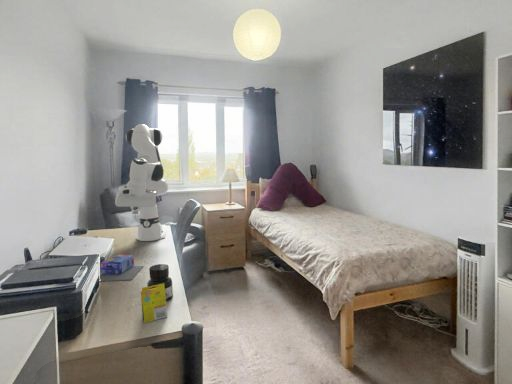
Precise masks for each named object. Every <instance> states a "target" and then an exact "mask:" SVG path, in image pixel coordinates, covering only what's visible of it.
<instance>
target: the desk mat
mask: <svg viewBox="0 0 512 384" xmlns="http://www.w3.org/2000/svg"><path fill="white" fill-rule="evenodd" d="M143 268H144V265H134V266H132V267H131V268H129V269H127V270H126V271H124V272H123V273H121V274H119V275H118V274H103V275H102V277H101V282H100V283H102V282H124V281H125V282H126V281H132V280H133V279H134V278H135V276H137V275H138V274H139V272H141V271H142V269H143Z"/></svg>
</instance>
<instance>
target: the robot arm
mask: <svg viewBox="0 0 512 384" xmlns="http://www.w3.org/2000/svg"><path fill="white" fill-rule="evenodd" d="M125 140H126V142H127V144H128V145H130V146H131V147H132V148H133V150H134V151H135V152H137V157H135V158H133V159H131V162H130V163H129V164H127V176H128V178H129V181H128V182H127V183H126V184H125V185H120V186H119V187H118V192H116V195H115V200H114V201H115V202H114V204H115V206H116V207H117V208H118V207H121V208H122V207H123V208H124V207H127V208H128V207H130V210H131V214H132V215H139V225H138V226H137V236H136V237H135V240H137V241H141V242H152V241H157V240H161V239H166V236H167V235H166V234H167V231H163V225H162V223H160V216H159V212H158V205H157V197H160V196H163V195H166V193H167V192H168V190H169V184H168V183H167V180H165V179H164V178H163V177H164V175H165V171H164V168H163V167H164V166H163V164H162V161H161V160H162V159H161V157H160V151H159V149H158V146H159V145H161V144H162V141H163V134H162V131H161V130H160V129H159V128H155V127H154V128H151V127H148V125H146V124H142V123H139V124H137V125H135V127H134V128H129V129H128V130H127V131H126V133H125ZM134 208H137V209H134Z"/></svg>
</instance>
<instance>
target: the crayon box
mask: <svg viewBox="0 0 512 384" xmlns="http://www.w3.org/2000/svg"><path fill="white" fill-rule="evenodd" d="M152 287H156V288H152ZM149 288H152V289H149ZM140 297H141V298H140V300H141V310H142V311H141V312H142V320H143V323H144V324H147V323H150V322H153V321H156V320H160V319H164V318H167V317H168V312H167V311H168V310H167V309H168V307H167V301H166V296H165V286H164V283H162V284H158V285H153V286H149V287H147V286H146V287H142V288H141V291H140Z"/></svg>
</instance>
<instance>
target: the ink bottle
mask: <svg viewBox="0 0 512 384" xmlns="http://www.w3.org/2000/svg"><path fill="white" fill-rule="evenodd" d="M148 270H149V280H148V281H147V285H146V287H149V286H153V285H158V284H162V283H164V286H165V296H166V302H168V301H169V300H171V299H172V298H173V296H174V291H173V290H174V289H173V280H172V278H171V277H170V275H169V274H170V270H169V265H168V264H165V263H158V264H154V265H151V266H149V268H148ZM152 288H156V287H152ZM152 288H149V289H152Z"/></svg>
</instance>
